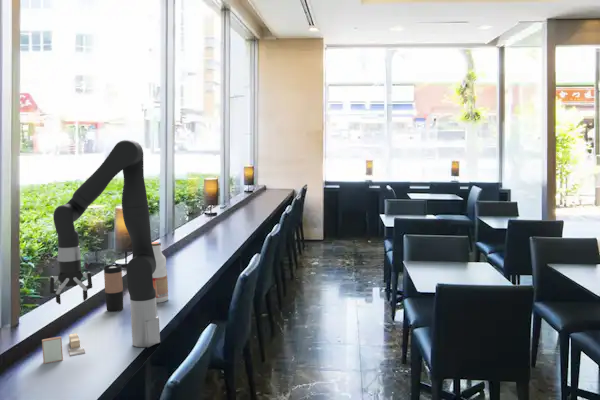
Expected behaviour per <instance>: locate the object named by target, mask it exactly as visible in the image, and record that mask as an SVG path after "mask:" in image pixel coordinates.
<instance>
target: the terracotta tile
mask: <svg viewBox="0 0 600 400" xmlns="http://www.w3.org/2000/svg"><path fill="white" fill-rule="evenodd" d="M62 339H63V338H62V336H55V337H54V336H53V337H49V338H44V339H41V349H42V361H43V364H44V365H45V364H50V363H55V362H60V361H61V362H62V361H64V357H63V356H64V354H63V345H62V344H63V342H62V341H63V340H62Z"/></svg>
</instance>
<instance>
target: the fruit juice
mask: <svg viewBox="0 0 600 400" xmlns="http://www.w3.org/2000/svg"><path fill="white" fill-rule="evenodd" d="M151 242H152V247H153V251H154V256H155V260H156V269H155V272H154V273H153V274H152V275H153V287H154V289H155V290H156V304H157V303H164V302H166V301H168V300H169V286H168V281H169V280H168V270H167V267H166V265H167V257H166V256H165V255H164V254H163V251H162V249H161V246H162V243H161V242H160V241H151Z"/></svg>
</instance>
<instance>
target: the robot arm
mask: <svg viewBox="0 0 600 400" xmlns="http://www.w3.org/2000/svg"><path fill="white" fill-rule="evenodd" d="M143 150H144V149H143V147H142V145H141V144H140V143H139V142H137V141H135V140H129V139H124V140H120V141H119V142H117V143H116V144H115V145H114V147H113V148H112V150H111V151H110V152H109V153H108V155H107V157H106V158H105V160H104V161H103V162H102V163H101V164H100V165H99V167H97V169H96V170H95V171H94V172H93V173H92V174H91V175H90V176H89V177H88V178H86V180H85V181H84V182H83V183H82V184H81V185H80V186H79V187H78V188H77V189H76V190H75V191H74V193H73V194H72V197H71V198H70V199H69V200H68V202H66V203H65V204H62V205H59V206H57V207H56V208H55V209H54V212H53V216H52V217H53V224H54V228H55V231H56V234H57V248H58V251H57V260H58V275H57V276H56V275H54V276H53V275H50V276H49V293H50V294H55V302H56V303H57V304H58V305H61V303H62V301H61V300H62V299H61V291H62V290H63V289H64V288H65V287H66V288H68V287H69V288H70V287H76V286H77V285H78V286H79V287H80V288H81V289H82V301H86V300H88V290H90V289H93V282H92V273H91V271H86V272H82V259H81V258H82V255H81V249H80V237H79V232H78V231H77V230H76V229H75V223H74V222H76V221H77V220H78V219H80V218H81V216H82V215H83V214H85V212H86V210H87V209H88V207H90V205H92V204H93V202H95V201H96V200H97V199H98V197H100V196H101V194H103V192H104V191H105V190H106V188H107V187H108V185H110V183H111V181H112V180H114V177H116V176H117V175H118V174H119V173H120V172H122V175H123V188H122V195H121V209H122V217H123V222H124V225H125V228H126V231H127V234H128V236H129V238H130V242H131V248H132V249H131V251H132V252H131V253H132V258H131V259H130V260H129V261H128V263H127V265H126V271H125V272H126V282H127V292H128V294H129V299H130V300H129V302H130V304H129V305H130V323H131V324H130V325H131V339H132V346H133V347H136V348H150V347H152V346H155V345H157V344H159V343H161V333H160V332H161V330H160V318H159V316H158V314H157V313H158V312H157V311H158V309H157V303H156V290H155V289H154V287H153V275H152V274H153V273H154V272H155V269H156V260H155V256H154V251H153V247H152V242H153V241H152V236H151V235H152V233H151V221H150V219H151V218H150V210H149V202H148V195H147V189H146V183H145V177H144V176H145V175H144V174H145V173H144V151H143ZM83 277H84V278H85V279H86V281H87V285H85V284H84V282H82V281H81V280H82V279H83ZM57 280H58V281H59V282H60V283H59V285H58V286H57V288H56V289H55V283H56V282H57Z"/></svg>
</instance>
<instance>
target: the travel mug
mask: <svg viewBox="0 0 600 400" xmlns="http://www.w3.org/2000/svg"><path fill="white" fill-rule="evenodd" d="M103 275H104V276H103V277H104V295H105V297H104V298H105V306H106V311H107V312H109V313H115V312H121V311H123V310H124V287H123V286H124V285H123V273H122V265H118V264H110V265H109V264H108V265H105V266H104V267H103Z"/></svg>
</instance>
